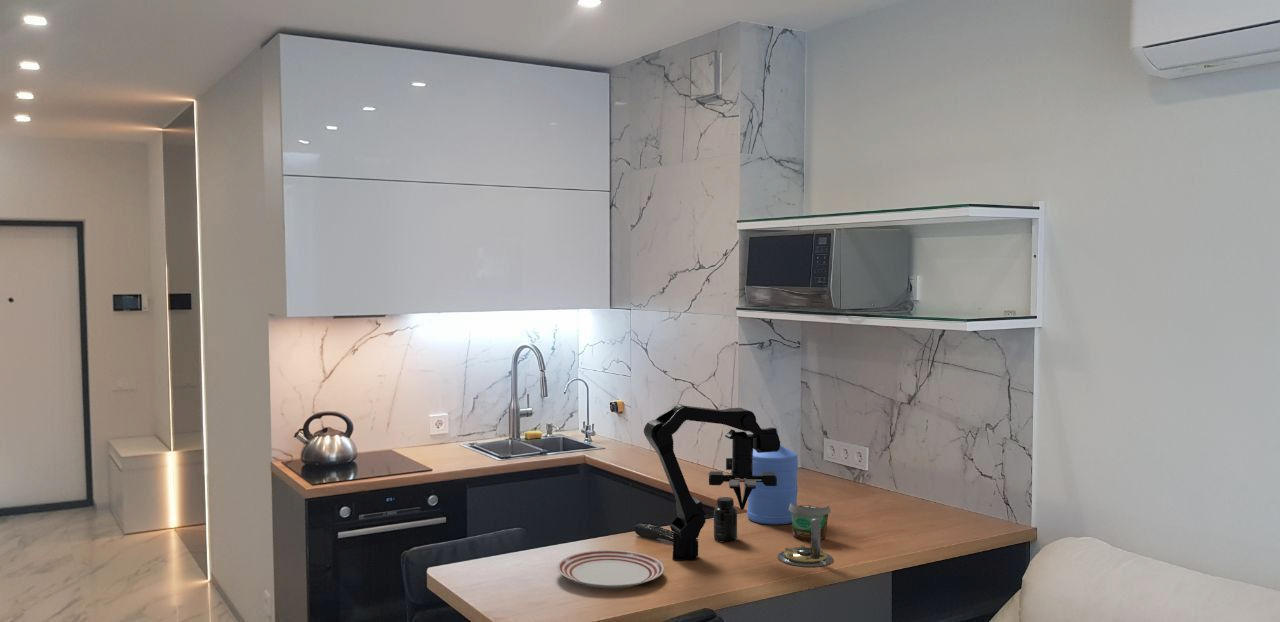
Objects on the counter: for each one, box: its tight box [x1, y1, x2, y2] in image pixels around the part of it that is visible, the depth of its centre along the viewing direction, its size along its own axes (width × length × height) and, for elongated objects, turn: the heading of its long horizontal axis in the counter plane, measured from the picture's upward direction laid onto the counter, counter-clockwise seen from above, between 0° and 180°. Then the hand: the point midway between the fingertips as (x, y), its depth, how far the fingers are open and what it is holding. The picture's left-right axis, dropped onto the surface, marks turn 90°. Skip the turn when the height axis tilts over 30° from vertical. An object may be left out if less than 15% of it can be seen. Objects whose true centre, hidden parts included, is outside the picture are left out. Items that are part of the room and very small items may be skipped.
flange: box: [777, 547, 834, 568], centre depth 268 cm, size 15×15×2 cm
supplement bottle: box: [713, 496, 738, 543], centre depth 286 cm, size 7×7×12 cm
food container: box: [789, 504, 832, 543], centre depth 286 cm, size 12×6×10 cm, turn 70°
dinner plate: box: [556, 549, 665, 590], centre depth 252 cm, size 27×27×3 cm
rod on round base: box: [783, 518, 828, 563], centre depth 268 cm, size 12×12×12 cm
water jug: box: [746, 430, 799, 526], centre depth 309 cm, size 16×16×28 cm
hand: (742, 509), depth 274 cm, fingers closed
